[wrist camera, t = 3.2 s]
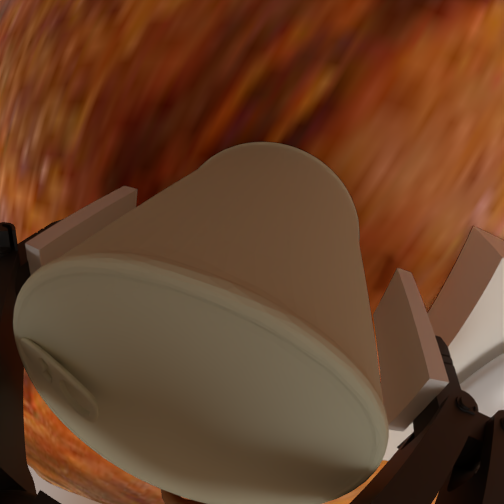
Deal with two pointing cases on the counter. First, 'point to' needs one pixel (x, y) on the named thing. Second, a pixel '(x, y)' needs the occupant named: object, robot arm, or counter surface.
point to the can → (218, 335)
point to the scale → (471, 325)
